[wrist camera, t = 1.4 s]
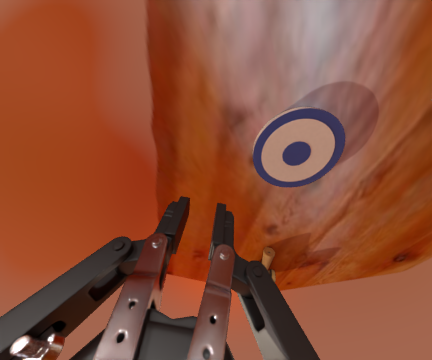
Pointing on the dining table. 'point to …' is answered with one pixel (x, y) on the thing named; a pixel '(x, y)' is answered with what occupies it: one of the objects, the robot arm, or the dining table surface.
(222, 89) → the dining table surface
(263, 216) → the dining table surface
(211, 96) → the dining table surface
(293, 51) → the dining table surface
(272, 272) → the kendama
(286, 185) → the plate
